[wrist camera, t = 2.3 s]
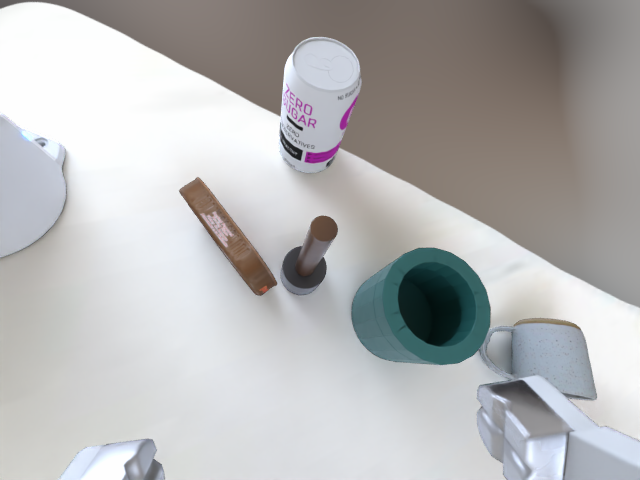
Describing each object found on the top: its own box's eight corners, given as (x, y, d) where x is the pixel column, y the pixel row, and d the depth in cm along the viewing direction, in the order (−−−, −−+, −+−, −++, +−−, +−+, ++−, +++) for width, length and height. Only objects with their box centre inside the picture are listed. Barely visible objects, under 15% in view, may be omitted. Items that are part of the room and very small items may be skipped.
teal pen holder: (335, 329, 38) (362, 321, 28) (375, 258, 42) (411, 227, 32) (412, 379, 38) (468, 389, 28) (445, 302, 42) (504, 285, 31)
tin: (277, 289, 39) (281, 273, 31) (256, 305, 37) (254, 293, 30) (207, 197, 41) (194, 160, 33) (185, 209, 40) (167, 175, 32)
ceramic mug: (548, 330, 43) (604, 325, 36) (554, 396, 40) (616, 406, 33) (475, 315, 42) (518, 307, 35) (475, 382, 39) (522, 388, 32)
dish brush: (272, 280, 39) (279, 236, 24) (294, 248, 41) (313, 188, 26) (307, 302, 39) (335, 271, 24) (327, 269, 40) (365, 221, 26)
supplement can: (339, 137, 48) (371, 47, 34) (327, 182, 45) (357, 105, 31) (287, 120, 47) (298, 22, 33) (271, 165, 44) (275, 79, 30)
